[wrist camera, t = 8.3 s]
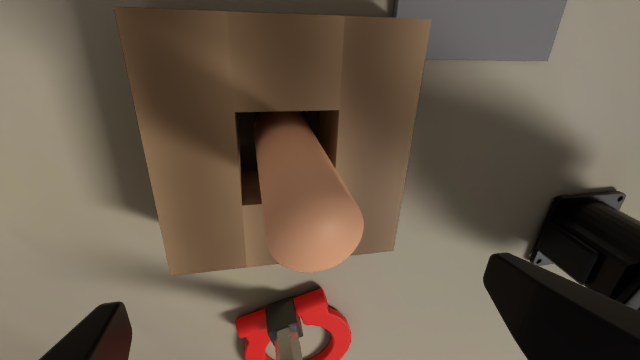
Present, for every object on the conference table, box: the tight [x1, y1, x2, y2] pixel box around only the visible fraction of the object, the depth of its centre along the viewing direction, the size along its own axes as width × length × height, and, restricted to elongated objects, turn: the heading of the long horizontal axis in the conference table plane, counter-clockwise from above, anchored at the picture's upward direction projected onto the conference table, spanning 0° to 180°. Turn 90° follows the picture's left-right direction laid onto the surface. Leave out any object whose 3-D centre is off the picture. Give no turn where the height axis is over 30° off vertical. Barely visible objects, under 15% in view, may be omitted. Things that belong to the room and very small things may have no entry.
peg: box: [254, 111, 364, 272], centre depth 14 cm, size 3×3×10 cm
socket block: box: [113, 7, 432, 276], centre depth 17 cm, size 12×12×4 cm
